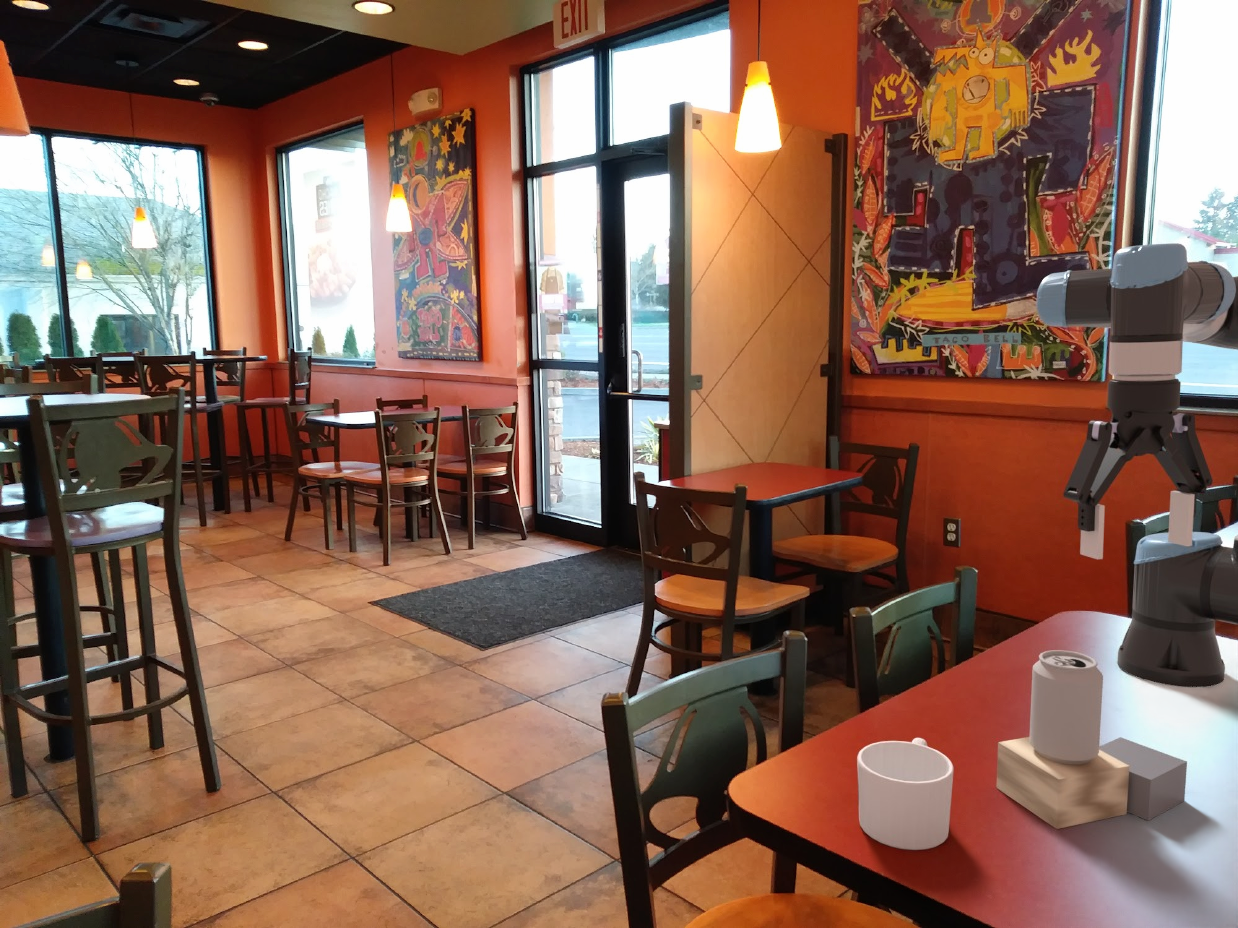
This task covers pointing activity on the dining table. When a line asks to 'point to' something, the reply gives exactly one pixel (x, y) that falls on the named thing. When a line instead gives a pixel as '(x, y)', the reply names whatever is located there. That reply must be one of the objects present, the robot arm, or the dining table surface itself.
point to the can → (1066, 707)
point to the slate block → (1149, 777)
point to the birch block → (1062, 785)
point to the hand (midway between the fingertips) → (1136, 550)
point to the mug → (904, 794)
